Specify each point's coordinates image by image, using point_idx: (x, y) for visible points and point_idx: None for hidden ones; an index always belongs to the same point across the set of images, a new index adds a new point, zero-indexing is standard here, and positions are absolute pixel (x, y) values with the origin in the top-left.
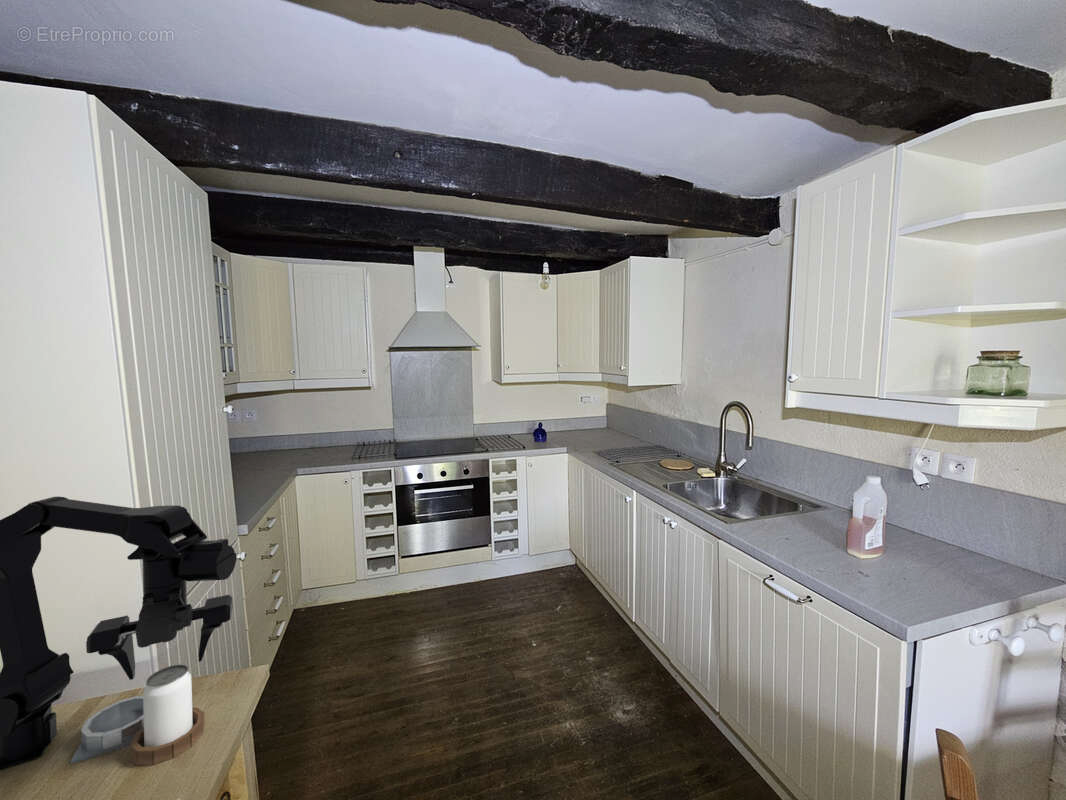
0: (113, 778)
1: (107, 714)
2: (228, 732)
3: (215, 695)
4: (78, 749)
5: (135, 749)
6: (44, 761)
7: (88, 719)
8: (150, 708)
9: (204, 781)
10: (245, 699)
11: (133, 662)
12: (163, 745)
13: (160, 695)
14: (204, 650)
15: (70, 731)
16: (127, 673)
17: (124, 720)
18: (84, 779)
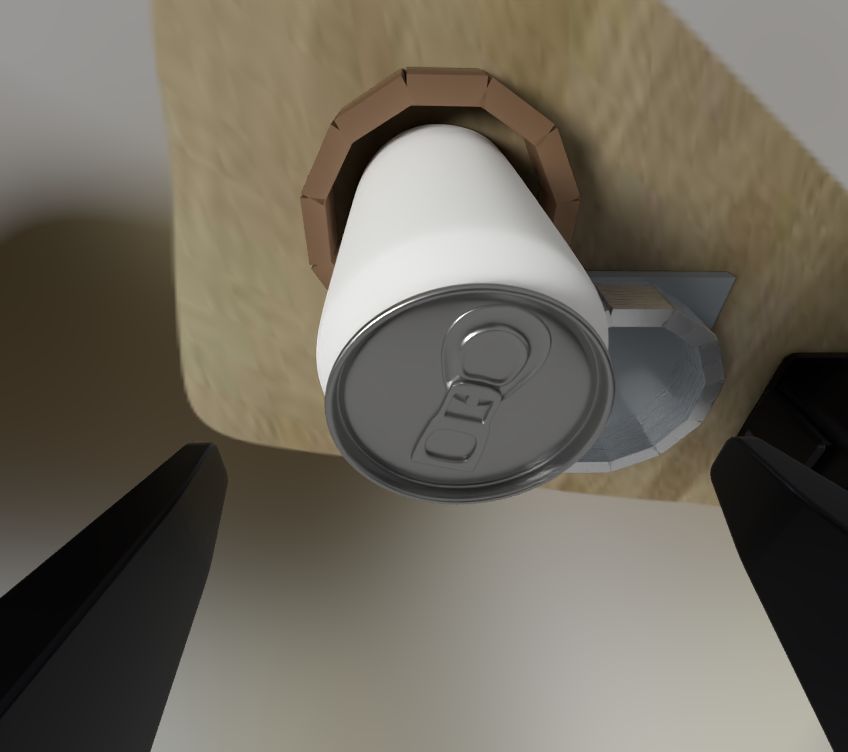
0: (620, 78)
1: (635, 434)
2: (193, 124)
3: (322, 398)
4: (708, 325)
5: (562, 147)
6: (781, 329)
7: (696, 424)
8: (544, 217)
9: None
10: (196, 324)
11: (795, 599)
12: (447, 97)
13: (498, 230)
14: (81, 533)
15: (705, 427)
16: (832, 488)
17: None
18: (706, 147)
